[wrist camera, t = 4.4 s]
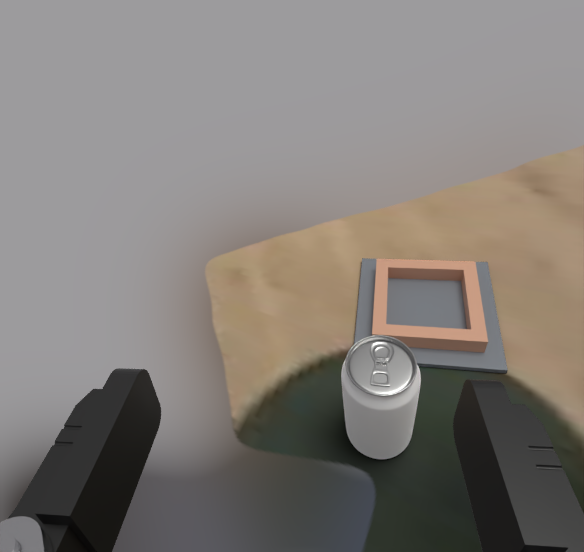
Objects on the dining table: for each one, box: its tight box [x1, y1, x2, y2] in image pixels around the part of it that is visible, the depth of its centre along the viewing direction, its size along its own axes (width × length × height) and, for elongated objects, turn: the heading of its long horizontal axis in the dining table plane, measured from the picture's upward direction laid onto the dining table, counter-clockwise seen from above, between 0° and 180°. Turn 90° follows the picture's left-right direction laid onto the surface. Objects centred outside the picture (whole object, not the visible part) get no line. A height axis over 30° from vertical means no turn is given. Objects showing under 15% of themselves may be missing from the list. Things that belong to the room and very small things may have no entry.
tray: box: [354, 258, 507, 373], centre depth 51 cm, size 16×16×3 cm
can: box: [341, 335, 421, 459], centre depth 38 cm, size 6×6×12 cm
